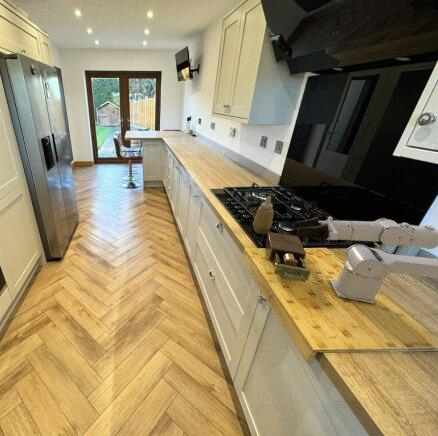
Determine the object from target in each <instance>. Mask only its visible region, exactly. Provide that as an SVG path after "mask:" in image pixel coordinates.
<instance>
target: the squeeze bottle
mask: <svg viewBox="0 0 438 436" xmlns="http://www.w3.org/2000/svg"><path fill="white" fill-rule="evenodd" d="M271 201H272V197H271V196H270V195H269V196H267V197H266V199H265V201H264V202H262V203H261V206H259V207H258V208H257V211H256V214H255V216H254V219H253V222H252V227H253V231H254V233H256V234H259V235H267V234H268V232H270V230H271V228H272V225H273V219H274V213H275V212H274V211H275V210H274V209H273V207H274V205H273V204H272V203H271Z"/></svg>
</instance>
